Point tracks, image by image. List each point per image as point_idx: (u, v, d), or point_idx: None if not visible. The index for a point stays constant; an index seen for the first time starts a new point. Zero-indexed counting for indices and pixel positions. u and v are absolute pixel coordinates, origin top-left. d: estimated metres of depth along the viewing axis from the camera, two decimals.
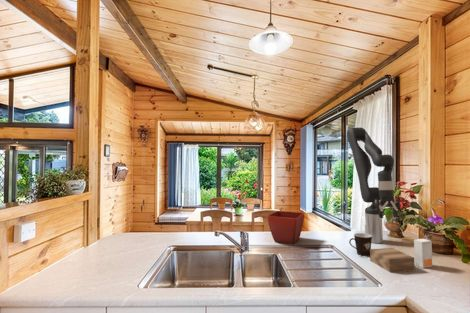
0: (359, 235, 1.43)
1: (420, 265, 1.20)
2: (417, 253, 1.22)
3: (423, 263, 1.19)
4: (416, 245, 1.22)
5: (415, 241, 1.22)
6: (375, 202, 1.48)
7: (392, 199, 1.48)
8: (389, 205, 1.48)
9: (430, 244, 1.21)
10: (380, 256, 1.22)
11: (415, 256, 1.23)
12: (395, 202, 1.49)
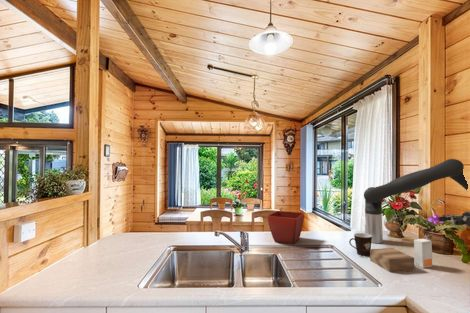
0: (359, 235, 1.43)
1: (420, 265, 1.20)
2: (417, 253, 1.22)
3: (423, 263, 1.19)
4: (416, 245, 1.22)
5: (415, 241, 1.22)
6: None
7: None
8: None
9: (430, 244, 1.21)
10: (380, 256, 1.22)
11: (415, 256, 1.23)
12: None
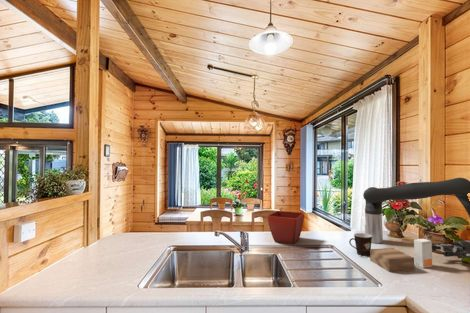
0: (359, 235, 1.43)
1: (420, 265, 1.20)
2: (417, 253, 1.22)
3: (423, 263, 1.19)
4: (416, 245, 1.22)
5: (415, 241, 1.22)
6: (467, 254, 1.17)
7: None
8: None
9: (430, 244, 1.21)
10: (380, 256, 1.22)
11: (415, 256, 1.23)
12: None
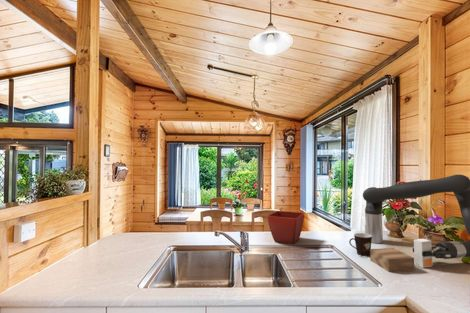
0: (359, 235, 1.43)
1: (420, 265, 1.20)
2: (417, 253, 1.22)
3: (423, 263, 1.19)
4: (416, 245, 1.22)
5: (415, 241, 1.23)
6: (447, 255, 1.16)
7: None
8: None
9: (430, 244, 1.21)
10: (380, 256, 1.22)
11: (415, 256, 1.23)
12: None
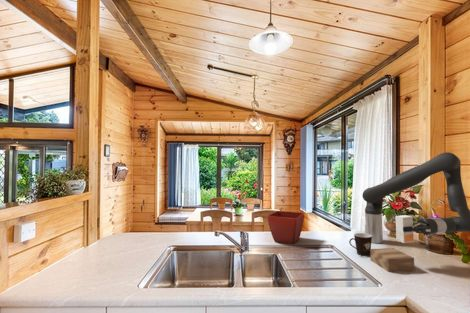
0: (359, 235, 1.43)
1: (401, 240, 1.21)
2: (398, 229, 1.23)
3: (404, 238, 1.21)
4: (397, 221, 1.23)
5: (396, 217, 1.24)
6: (427, 229, 1.17)
7: None
8: None
9: (411, 220, 1.22)
10: (379, 256, 1.22)
11: (397, 232, 1.24)
12: None
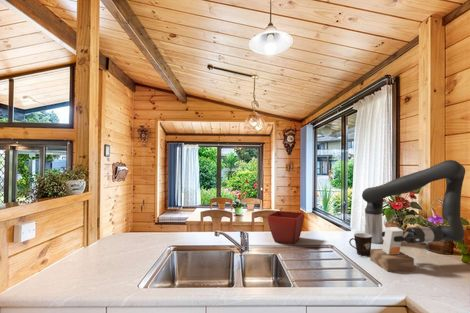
0: (359, 235, 1.43)
1: (386, 252, 1.22)
2: (386, 240, 1.22)
3: (389, 250, 1.21)
4: (387, 233, 1.22)
5: (386, 229, 1.22)
6: (416, 239, 1.18)
7: None
8: None
9: (401, 234, 1.20)
10: (379, 256, 1.22)
11: (384, 242, 1.24)
12: None
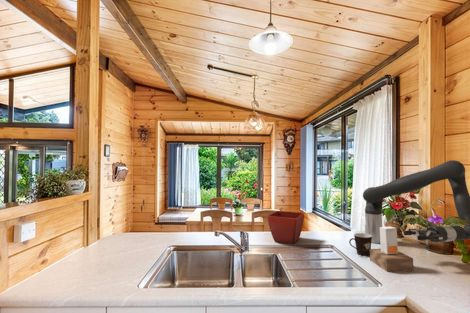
0: (359, 235, 1.43)
1: (385, 252, 1.22)
2: (382, 240, 1.24)
3: (387, 249, 1.21)
4: (381, 232, 1.25)
5: (380, 228, 1.25)
6: (440, 237, 1.19)
7: None
8: None
9: (395, 231, 1.23)
10: (378, 256, 1.22)
11: (381, 243, 1.25)
12: (418, 232, 1.31)
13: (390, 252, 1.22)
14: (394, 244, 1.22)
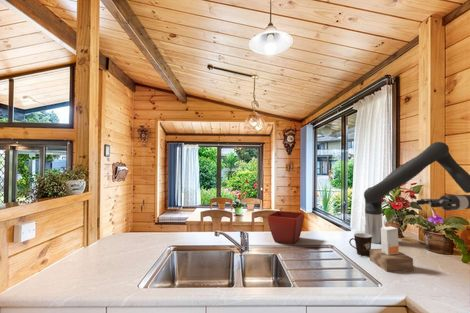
0: (359, 235, 1.43)
1: (386, 252, 1.22)
2: (383, 241, 1.23)
3: (388, 250, 1.21)
4: (382, 233, 1.24)
5: (381, 229, 1.24)
6: (453, 204, 1.22)
7: None
8: None
9: (396, 232, 1.22)
10: (378, 256, 1.22)
11: (382, 243, 1.24)
12: (430, 202, 1.34)
13: (391, 253, 1.21)
14: (395, 244, 1.22)
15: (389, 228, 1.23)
